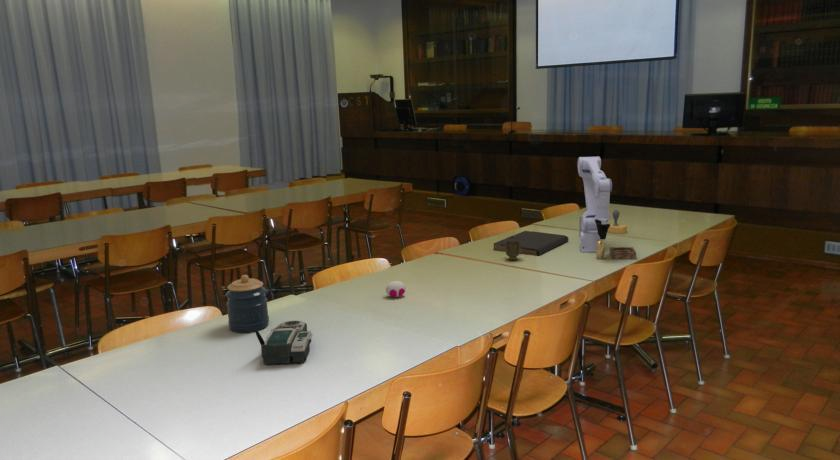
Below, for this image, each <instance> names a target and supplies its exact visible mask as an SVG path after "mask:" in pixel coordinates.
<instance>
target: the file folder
mask: <svg viewBox="0 0 840 460" xmlns="http://www.w3.org/2000/svg"><path fill="white" fill-rule="evenodd" d="M507 241H510V242H513V241H518V242H519V241H520V243H521V249H520V254H521V255H529V256H535V257H537V256H541V255H543V254H545V253H547V252H549V251H551V250H553V249H554V248H557V247H559V246H562V245H564V244H565V243H567V242H568V241H569V237H568V236H567V235H565V234H556V233H548V232H542V231H540V232H539V231H530V230H523V231H521V232H518V233H516V234H513V235H511V236H508V237H506V238H503V239H502V240H498V241H496V242H494V243H492V244H493V248H492V249H493V251H498V252H505V253H506V251H505V244H504V242H507ZM520 254H519V255H520Z"/></svg>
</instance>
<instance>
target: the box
mask: <svg viewBox="0 0 840 460" xmlns="http://www.w3.org/2000/svg"><path fill="white" fill-rule="evenodd" d="M609 255H610V257H611V259H612V260H637V252H636V250H635V248H634V247H632V246H630V247H629V246H627V247H625V246H610V247H609Z"/></svg>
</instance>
